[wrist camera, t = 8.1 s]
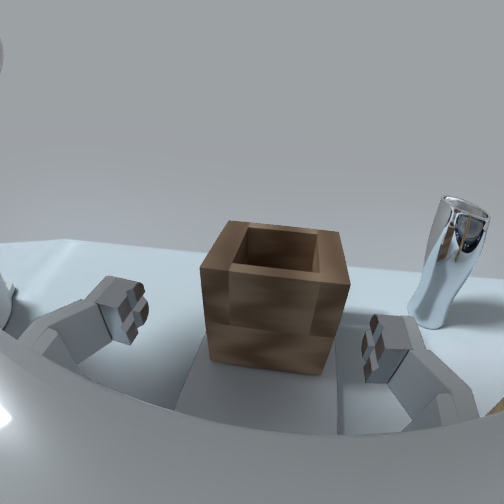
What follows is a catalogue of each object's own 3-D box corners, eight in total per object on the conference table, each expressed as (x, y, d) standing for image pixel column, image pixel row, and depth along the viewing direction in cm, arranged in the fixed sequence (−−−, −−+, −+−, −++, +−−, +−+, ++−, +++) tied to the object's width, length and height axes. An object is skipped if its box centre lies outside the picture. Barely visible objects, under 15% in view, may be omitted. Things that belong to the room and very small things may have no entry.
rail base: (165, 440, 17) (139, 401, 13) (223, 296, 33) (221, 247, 30) (333, 467, 15) (365, 436, 12) (330, 309, 31) (342, 260, 28)
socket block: (209, 359, 23) (199, 267, 18) (230, 304, 30) (228, 220, 25) (321, 374, 22) (350, 284, 17) (320, 315, 29) (338, 232, 24)
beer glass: (394, 301, 32) (428, 192, 25) (429, 294, 33) (463, 196, 26) (421, 337, 26) (471, 218, 19) (456, 325, 27) (501, 220, 20)
